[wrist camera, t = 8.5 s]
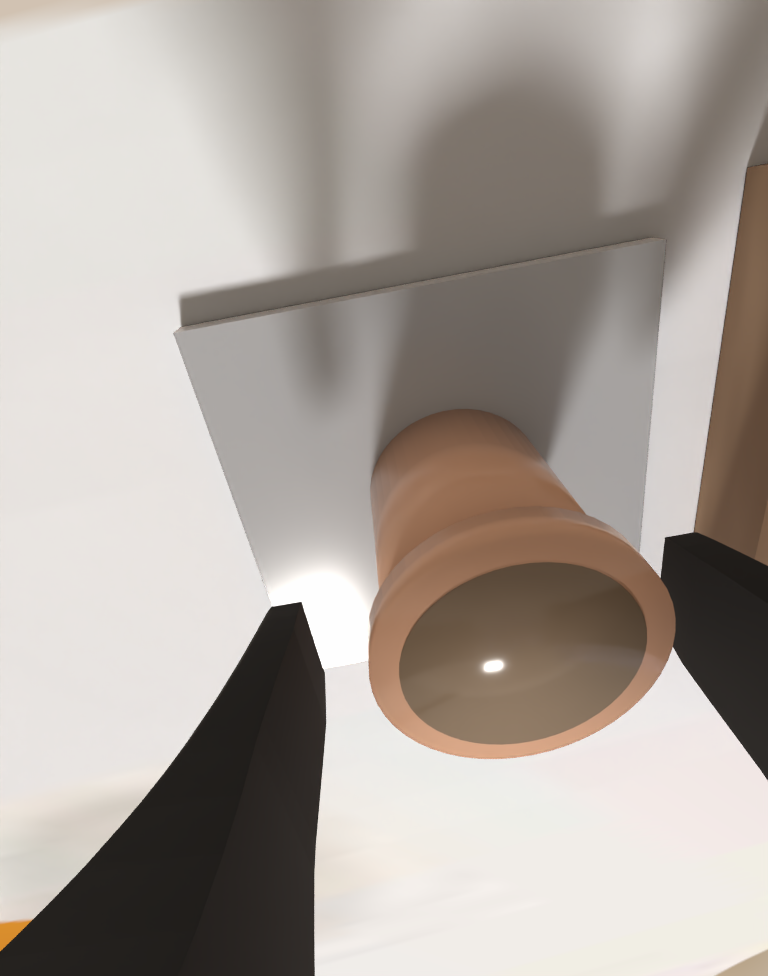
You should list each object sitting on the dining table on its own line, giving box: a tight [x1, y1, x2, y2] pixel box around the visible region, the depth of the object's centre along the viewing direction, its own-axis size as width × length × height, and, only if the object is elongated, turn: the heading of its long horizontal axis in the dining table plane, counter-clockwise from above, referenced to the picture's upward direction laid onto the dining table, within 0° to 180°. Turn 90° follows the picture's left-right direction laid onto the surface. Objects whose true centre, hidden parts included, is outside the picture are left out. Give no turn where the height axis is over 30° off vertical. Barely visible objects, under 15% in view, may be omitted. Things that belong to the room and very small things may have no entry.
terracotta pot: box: [367, 409, 676, 759], centre depth 12 cm, size 5×5×6 cm
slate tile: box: [174, 237, 666, 668], centre depth 15 cm, size 11×11×1 cm
